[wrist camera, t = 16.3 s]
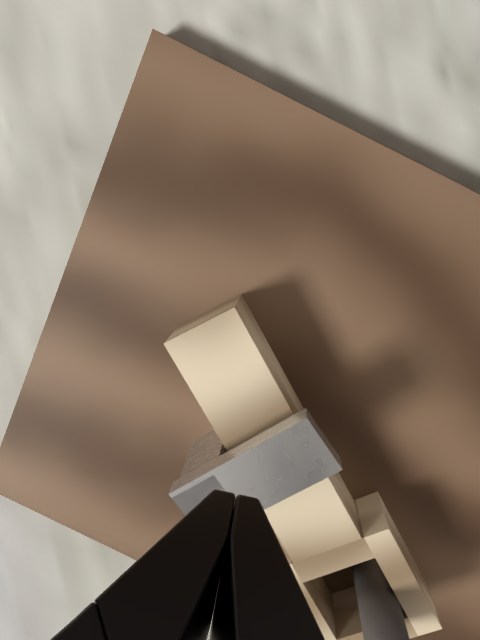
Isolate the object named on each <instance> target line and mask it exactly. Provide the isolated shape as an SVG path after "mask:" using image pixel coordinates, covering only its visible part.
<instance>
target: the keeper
mask: <svg viewBox="0 0 480 640" xmlns="http://www.w3.org/2000/svg"><path fill="white" fill-rule="evenodd" d="M341 470H343V469H342V464H341V459H340V457H339V455H338V454H337V452H336V451H335V449H334V448H333V446H332V445H331V443H330V442H329V440H328V439H327V438H326V436H325V435H324V433H323V432H322V430H321V429H320V427H319V426H318V424H317V423H316V422H315V420H314V419H313V417H312V416H311V414H310V413H309V411H308V410H307V408H305V409H303V410H301V411H299V412H298V413H296V414H294V415H292V416H290V417H289V418H287V419H285V420H283V421H281V422H280V423H278V424H276V425H274V426H272V427H271V428H269V429H267V430H265V431H263V432H262V433H260V434H258V435H256V436H254V437H253V438H251V439H249V440H247V441H246V442H244V443H242V444H240V445H238V446H237V447H235V448H233V449H231V450H229V451H228V452H227V450H226V449H225V447H224V445H223V443H222V442H221V440H220V438H219V437H218V435H217V433H216V432H215V430H212V431H210V432H208V433H207V434H205V435H203V436H202V437H200V438H198V439H196V440H195V441H194V443H193V445H192V448H191V450H190V453H189V455H188V458H187V460H186V463H185V465H184V468H183V470H182V473H181V475H180V478H179V479H177V480H176V481H174V482H173V484H172V487H171V489H170V491H169V496H170V497H171V498H172V499H173V501H174V502H175V503H176V505H177V506H178V507H179V508H180V510H181V511H182V512H183V514H184V515H185V516H186V515H187V514H188V513H189V512H190V511H191V510H192V509H193V508H194V507H195V506H196V505H198V504H199V503H200V502H201V501H202V500H203V499H204V498H205V497H206V496H207V495H208V494H209V493H210V492H212V491H213V490H215V489H218V490H223V491H227V492H232V493H234V494H235V499H236V496H237V495H239V494H241V495H245V496H250V497H254V498H257V499H258V500H259V501H260V503H261V505H262V507H263V509H264V510H265V509H267V508H269V507H271V506H273V505H275V504H277V503H279V502H281V501H283V500H285V499H286V498H288V497H290V496H292V495H294V494H296V493H298V492H300V491H302V490H304V489H306V488H308V487H310V486H312V485H314V484H316V483H318V482H320V481H322V480H324V479H326V478H328V477H330V476H332V475H334V474H336V473H338V472H339V471H341ZM234 504H235V503H234Z"/></svg>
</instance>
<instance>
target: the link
mask: <svg viewBox="0 0 480 640" xmlns="http://www.w3.org/2000/svg"><path fill="white" fill-rule="evenodd" d="M163 344H164V346H165V347H166V349H167V351H168V352H169V354H170V356H171V357H172V359H173V361H174V362H175V364H176V366H177V368H178V369H179V371H180V373H181V374H182V376H183V378H184V379H185V381H186V383H187V384H188V386H189V388H190V389H191V391H192V393H193V395H194V396H195V398H196V400H197V401H198V403H199V405H200V406H201V408H202V410H203V411H204V413H205V415H206V416H207V418H208V420H209V422H210V423H211V425H212V427H213V428H214V430H215V432H216V433H217V435H218V437H219V438H220V440H221V442H222V443H223V445H224V447H225V449H226V450H227V452H228V451H229V450H231V449H233V448H235V447H237V446H238V445H240V444H242V443H244V442H246V441H247V440H249V439H251V438H253V437H254V436H256V435H258V434H260V433H262V432H263V431H265V430H267V429H269V428H271V427H272V426H274V425H276V424H278V423H280V422H281V421H283V420H285V419H287V418H289V417H290V416H292V415H294V414H296V413H298V412H299V411H301V410H303V409H304V408H303V406H302V404H301V402H300V401H299V399H298V397H297V395H296V393H295V391H294V390H293V388H292V386H291V384H290V382H289V380H288V379H287V377H286V375H285V373H284V371H283V369H282V368H281V366H280V364H279V362H278V360H277V358H276V357H275V355H274V353H273V351H272V349H271V347H270V345H269V344H268V342H267V340H266V338H265V336H264V334H263V333H262V331H261V329H260V327H259V325H258V323H257V322H256V320H255V318H254V316H253V314H252V312H251V311H250V309H249V307H248V305H247V303H246V301H245V300H244V298H243V296H242V294H240V295H238V296H236V297H235V298H233V299H231V300H229V301H227V302H225V303H223V304H221V305H219V306H217V307H215V308H213V309H211V310H209V311H207V312H205V313H203V314H201V315H200V316H198V317H196V318H194V319H192V320H190V321H188V322H186V323H184V324H182V325H180V326H178V327H177V329H176V330H175V331H174V332H173V333H172V334H171V335H170V337H169V338H168V339H167V340H166V341H165V342H164V343H163ZM264 511H265V513H266V515H267V518H268V520H269V522H270V524H271V526H272V528H273V530H274V532H275V535H276V537H277V539H278V541H279V543H280V545H281V547H282V549H283V552H284V554H285V556H286V558H287V560H288V562H289V564H290V566H291V569H292V571H293V573H294V575H295V577H296V579H297V581H298V583H299V586H300V588H301V590H302V592H303V594H304V596H305V598H306V600H307V602H308V605H309V607H310V609H311V611H312V613H313V615H314V617H315V619H316V622H317V624H318V626H319V628H320V630H321V632H322V634H323V636H324V639H325V640H364V638H363V632H362V626H361V620H360V614H359V608H358V602H357V596H356V590H355V586H353V587H350V588H347V589H344V590H341V591H338V592H335V593H331V592H330V590H329V588H328V587H327V585H326V583H325V581H324V580H323V578H322V576H324V575H327V574H330V573H333V572H336V571H339V570H341V569H344V568H347V567H350V566H353V565H356V564H359V563H362V562H365V561H367V560H370V559H373V558H375V559H376V560H377V562H378V564H379V566H380V568H381V570H382V571H383V573H384V575H385V577H386V579H387V580H388V582H389V584H390V586H391V588H392V590H393V591H394V593H395V595H396V597H397V599H398V600H399V602H400V606H401V609H402V613H403V617H404V620H405V624H406V628H407V632H408V635H409V639H411V638H414V637H417V636H421V635H424V634H427V633H431V632H434V631H437V630H441V629H442V627H441V624H440V621H439V618H438V615H437V613H436V610H435V607H434V604H433V601H432V598H431V596H430V593H429V590H428V587H427V584H426V582H425V580H424V578H423V576H422V574H421V572H420V570H419V568H418V567H417V565H416V563H415V561H414V559H413V557H412V555H411V553H410V552H409V550H408V548H407V546H406V544H405V542H404V540H403V538H402V536H401V535H400V533H399V531H398V529H397V527H396V525H395V523H394V521H393V519H392V518H391V516H390V514H389V512H388V510H387V508H386V506H385V504H384V502H383V501H382V499H381V497H380V495H379V493H378V491H377V492H375V493H372V494H369V495H367V496H364V497H362V498H359V499H356V500H353V498H352V496H351V494H350V492H349V491H348V489H347V487H346V485H345V483H344V481H343V480H342V478H341V476H340V474H339V472H338V473H336V474H334V475H332V476H330V477H328V478H326V479H324V480H322V481H320V482H318V483H316V484H314V485H312V486H310V487H308V488H306V489H304V490H302V491H300V492H298V493H296V494H294V495H292V496H290V497H288V498H286V499H285V500H283V501H281V502H279V503H277V504H275V505H273V506H271V507H269V508H267V509H265V510H264Z"/></svg>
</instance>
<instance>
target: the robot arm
mask: <svg viewBox="0 0 480 640" xmlns="http://www.w3.org/2000/svg"><path fill="white" fill-rule="evenodd" d="M234 503H235V504H234ZM216 596H217V597H216ZM215 601H216V602H215ZM214 606H215V607H214ZM213 611H214V612H213ZM212 615H213V618H212ZM211 620H212V625H211V632H210V640H325V639H324V636H323V634H322V632H321V630H320V628H319V626H318V624H317V622H316V619H315V617H314V615H313V613H312V611H311V609H310V607H309V605H308V602H307V600H306V598H305V596H304V594H303V592H302V590H301V588H300V586H299V583H298V581H297V579H296V577H295V575H294V573H293V571H292V569H291V566H290V564H289V562H288V560H287V558H286V556H285V554H284V552H283V549H282V547H281V545H280V543H279V541H278V539H277V537H276V535H275V532H274V530H273V528H272V526H271V524H270V522H269V520H268V518H267V515H266V513H265V511H264V509H263V507H262V505H261V503H260V501H259V500H258V499H257V498H254V497H250V496H245V495H241V494H239V495H237V496H236V499H235V494H234V493H232V492H227V491H223V490H218V489H215V490H213V491H212V492H210V493H209V494H208V495H207V496H206V497H205V498H204V499H203V500H202V501H201V502H200V503H199V504H198V505H196V506H195V507H194V508H193V509H192V510H191V511H190V512H189V513H188V514H187V515H186V516H185V517H184V518H183V519H181V520H180V521H179V522H178V523H177V524H176V525H175V526H174V527H173V528H172V529H171V530H170V531H169V532H167V533H166V534H165V535H164V536H163V537H162V538H161V539H160V540H159V541H158V542H157V543H156V544H155V545H153V546H152V547H151V548H150V549H149V550H148V551H147V552H146V553H145V554H144V555H143V556H142V557H141V558H139V559H138V560H137V561H136V562H135V563H134V564H133V565H132V566H131V567H130V568H129V569H128V570H127V571H125V572H124V573H123V574H122V575H121V576H120V577H119V578H118V579H117V580H116V581H115V582H114V583H113V584H111V585H110V586H109V587H108V588H107V589H106V590H105V591H104V592H103V593H102V594H101V595H100V596H99V597H97V598H96V600H95V603H91V604H90V605H88V606H87V607H86V608H85V609H84V610H83V611H82V612H81V613H80V614H79V615H78V616H77V617H76V618H75V619H74V620H72V621H71V622H70V623H69V624H68V625H67V626H66V627H64V628H63V629H62V630H61V631H60V632H59V633H58V634H56V635H55V636H54V637H53V638H52V639H51V640H206V639H207V636H208V632H209V629H210V624H211Z"/></svg>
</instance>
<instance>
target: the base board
mask: <svg viewBox="0 0 480 640" xmlns="http://www.w3.org/2000/svg"><path fill="white" fill-rule="evenodd" d="M240 294H242V296H243V298H244V300H245V301H246V303H247V305H248V307H249V309H250V311H251V312H252V314H253V316H254V318H255V320H256V322H257V323H258V325H259V327H260V329H261V331H262V333H263V334H264V336H265V338H266V340H267V342H268V344H269V345H270V347H271V349H272V351H273V353H274V355H275V357H276V358H277V360H278V362H279V364H280V366H281V368H282V369H283V371H284V373H285V375H286V377H287V379H288V380H289V382H290V384H291V386H292V388H293V390H294V391H295V393H296V395H297V397H298V399H299V401H300V402H301V404H302V406H303V408H304V409H305V408H307V410H308V411H309V413H310V414H311V416H312V417H313V419H314V420H315V422H316V423H317V424H318V426H319V427H320V429H321V430H322V432H323V433H324V435H325V436H326V438H327V439H328V440H329V442H330V443H331V445H332V446H333V448H334V449H335V451H336V452H337V454H338V455H339V457H340V459H341V464H342V469H343V470H341V471H339V474H340V476H341V478H342V480H343V481H344V483H345V485H346V487H347V489H348V491H349V492H350V494H351V496H352V498H353V500H356V499H359V498H362V497H364V496H367V495H369V494H372V493H375V492H377V491H378V493H379V495H380V497H381V499H382V501H383V502H384V504H385V506H386V508H387V510H388V512H389V514H390V516H391V518H392V519H393V521H394V523H395V525H396V527H397V529H398V531H399V533H400V535H401V536H402V538H403V540H404V542H405V544H406V546H407V548H408V550H409V552H410V553H411V555H412V557H413V559H414V561H415V563H416V565H417V567H418V568H419V570H420V572H421V574H422V576H423V578H424V580H425V582H426V584H427V587H428V590H429V593H430V596H431V598H432V601H433V604H434V607H435V610H436V613H437V615H438V618H439V621H440V624H441V627H442V629H441V630H437V631H434V632H431V633H427V634H424V635H421V636H417V637H414V638H411V639H409V635H408V632H407V628H406V624H405V620H404V617H403V613H402V609H401V606H400V602H399V600H398V599H397V597H396V595H395V593H394V591H393V590H392V588H391V586H390V584H389V582H388V580H387V579H386V577H385V575H384V573H383V571H382V570H381V568H380V566H379V564H378V562H377V560H376V559H375V558H373V559H370V560H367V561H365V562H362V563H359V564H356V565H353V566H350V567H347V568H344V569H341V570H339V571H336V572H333V573H330V574H327V575H324V576H322V578H323V580H324V581H325V583H326V585H327V587H328V588H329V590H330V592H331V593H335V592H338V591H341V590H344V589H347V588H350V587H353V586H355V590H356V596H357V602H358V608H359V614H360V620H361V626H362V632H363V638H364V640H480V194H478V193H476V192H474V191H472V190H470V189H468V188H466V187H464V186H462V185H460V184H458V183H456V182H454V181H452V180H450V179H448V178H446V177H444V176H442V175H440V174H438V173H436V172H434V171H432V170H430V169H429V168H427V167H425V166H423V165H421V164H419V163H417V162H415V161H413V160H411V159H409V158H407V157H405V156H403V155H401V154H399V153H397V152H395V151H393V150H391V149H389V148H387V147H385V146H383V145H381V144H379V143H377V142H375V141H373V140H371V139H369V138H367V137H365V136H363V135H361V134H359V133H357V132H355V131H354V130H352V129H350V128H348V127H346V126H344V125H342V124H340V123H338V122H336V121H334V120H332V119H330V118H328V117H326V116H324V115H322V114H320V113H318V112H316V111H314V110H312V109H310V108H308V107H306V106H304V105H302V104H300V103H298V102H296V101H294V100H292V99H290V98H288V97H286V96H284V95H282V94H281V93H279V92H277V91H275V90H273V89H271V88H269V87H267V86H265V85H263V84H261V83H259V82H257V81H255V80H253V79H251V78H249V77H247V76H245V75H243V74H241V73H239V72H237V71H235V70H233V69H231V68H229V67H227V66H225V65H223V64H221V63H219V62H217V61H215V60H213V59H211V58H209V57H208V56H206V55H204V54H202V53H200V52H198V51H196V50H194V49H192V48H190V47H188V46H186V45H184V44H182V43H180V42H178V41H176V40H174V39H172V38H170V37H168V36H166V35H164V34H162V33H160V32H158V31H156V30H154V29H153V30H152V32H151V35H150V38H149V41H148V43H147V46H146V49H145V51H144V54H143V57H142V60H141V62H140V65H139V68H138V71H137V73H136V76H135V79H134V82H133V84H132V87H131V90H130V93H129V95H128V98H127V101H126V104H125V106H124V109H123V112H122V115H121V117H120V120H119V123H118V126H117V128H116V131H115V134H114V137H113V139H112V142H111V145H110V148H109V150H108V153H107V156H106V159H105V161H104V164H103V167H102V170H101V172H100V175H99V178H98V181H97V183H96V186H95V189H94V192H93V194H92V197H91V200H90V202H89V205H88V208H87V211H86V213H85V216H84V219H83V222H82V224H81V227H80V230H79V233H78V235H77V238H76V241H75V244H74V246H73V249H72V252H71V255H70V257H69V260H68V263H67V266H66V268H65V271H64V274H63V277H62V279H61V282H60V285H59V288H58V290H57V293H56V296H55V299H54V301H53V304H52V307H51V310H50V312H49V315H48V318H47V321H46V323H45V326H44V329H43V332H42V334H41V337H40V340H39V343H38V345H37V348H36V351H35V354H34V356H33V359H32V362H31V364H30V367H29V370H28V373H27V375H26V378H25V381H24V384H23V386H22V389H21V392H20V395H19V397H18V400H17V403H16V406H15V408H14V411H13V414H12V417H11V419H10V422H9V425H8V428H7V430H6V433H5V436H4V439H3V441H2V444H1V447H0V495H2V496H4V497H7V498H9V499H11V500H13V501H15V502H17V503H19V504H21V505H23V506H25V507H27V508H29V509H31V510H33V511H36V512H38V513H40V514H42V515H44V516H46V517H48V518H50V519H52V520H54V521H56V522H58V523H60V524H63V525H65V526H67V527H69V528H71V529H73V530H75V531H77V532H79V533H81V534H83V535H85V536H87V537H89V538H92V539H94V540H96V541H98V542H100V543H102V544H104V545H106V546H108V547H110V548H112V549H114V550H116V551H118V552H121V553H123V554H125V555H127V556H129V557H131V558H133V559H135V560H138V559H139V558H141V557H142V556H143V555H144V554H145V553H146V552H147V551H148V550H149V549H150V548H151V547H152V546H153V545H155V544H156V543H157V542H158V541H159V540H160V539H161V538H162V537H163V536H164V535H165V534H166V533H167V532H169V531H170V530H171V529H172V528H173V527H174V526H175V525H176V524H177V523H178V522H179V521H180V520H181V519H183V518H184V517H185V515H184V514H183V512H182V511H181V510H180V508H179V507H178V506H177V505H176V503H175V502H174V501H173V499H172V498H171V497H170V496H169V491H170V489H171V487H172V484H173V482H174V481H176V480H177V479H179V478H180V475H181V473H182V470H183V468H184V465H185V463H186V460H187V458H188V455H189V453H190V450H191V448H192V445H193V443H194V441H195V440H196V439H198V438H200V437H202V436H203V435H205V434H207V433H208V432H210V431H212V430H214V428H213V427H212V425H211V423H210V422H209V420H208V418H207V416H206V415H205V413H204V411H203V410H202V408H201V406H200V405H199V403H198V401H197V400H196V398H195V396H194V395H193V393H192V391H191V389H190V388H189V386H188V384H187V383H186V381H185V379H184V378H183V376H182V374H181V373H180V371H179V369H178V368H177V366H176V364H175V362H174V361H173V359H172V357H171V356H170V354H169V352H168V351H167V349H166V347H165V346H164V344H163V343H164V342H165V341H166V340H167V339H168V338H169V337H170V335H171V334H172V333H173V332H174V331H175V330H176V329H177V327H178V326H180V325H182V324H184V323H186V322H188V321H190V320H192V319H194V318H196V317H198V316H200V315H201V314H203V313H205V312H207V311H209V310H211V309H213V308H215V307H217V306H219V305H221V304H223V303H225V302H227V301H229V300H231V299H233V298H235V297H236V296H238V295H240ZM216 597H217V596H216Z"/></svg>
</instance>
